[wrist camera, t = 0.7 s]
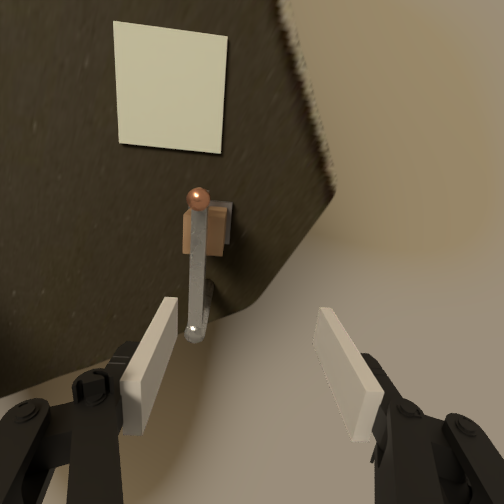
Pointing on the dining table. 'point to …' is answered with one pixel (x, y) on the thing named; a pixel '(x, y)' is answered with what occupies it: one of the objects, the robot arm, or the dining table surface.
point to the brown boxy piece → (211, 228)
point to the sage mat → (169, 87)
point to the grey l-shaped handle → (198, 266)
